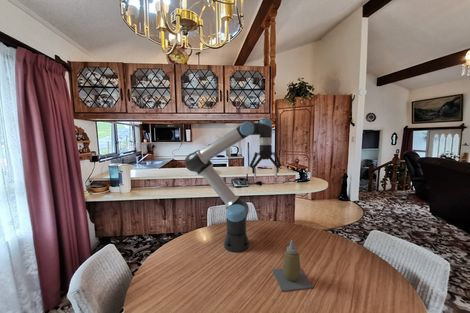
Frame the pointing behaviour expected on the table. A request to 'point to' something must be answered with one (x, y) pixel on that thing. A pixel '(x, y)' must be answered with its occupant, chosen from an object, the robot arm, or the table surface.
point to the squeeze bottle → (291, 263)
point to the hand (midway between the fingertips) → (265, 178)
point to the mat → (290, 285)
